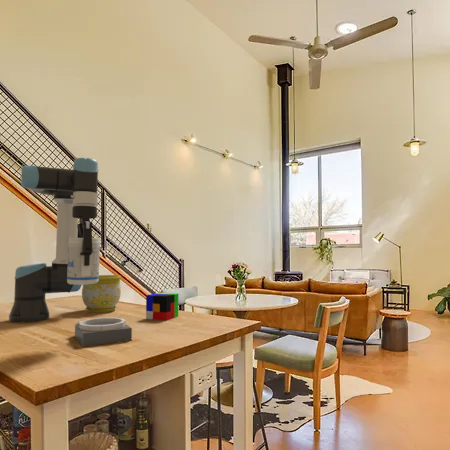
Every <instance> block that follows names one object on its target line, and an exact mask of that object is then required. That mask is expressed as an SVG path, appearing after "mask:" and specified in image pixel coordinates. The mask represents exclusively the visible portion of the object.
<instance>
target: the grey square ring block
mask: <svg viewBox="0 0 450 450" xmlns="http://www.w3.org/2000/svg"><path fill="white" fill-rule="evenodd" d="M126 320H127V319H125V318H120V317H96V318H95V317H94V318H91V319H90V318H89V319H84V320H81V321H77V323H75V325H74V337H75V338H76V340H77V341H78V342H79V344H80V345H81V346H82V347H83V348H84V347H90V346H91V347H92V346H99V345H108V344H115V343H122V342H123V343H124V342H131V341H132V337H133V334H132V332H133V331H132V330H133V329H132V327H131V326H129V325H128V324H126V323H127V322H126Z"/></svg>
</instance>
